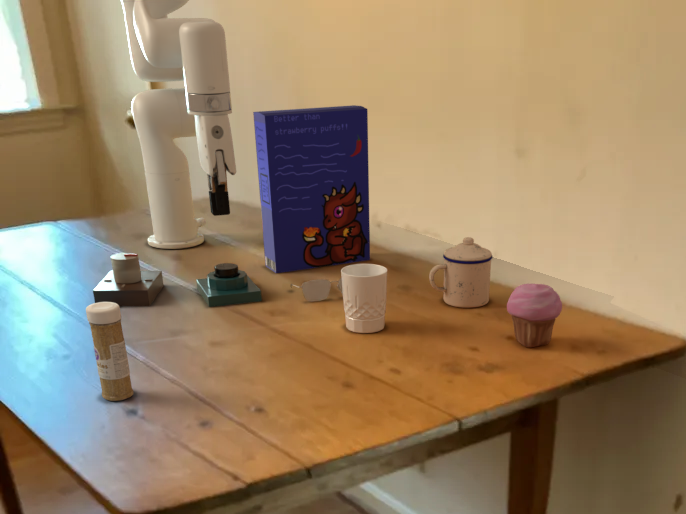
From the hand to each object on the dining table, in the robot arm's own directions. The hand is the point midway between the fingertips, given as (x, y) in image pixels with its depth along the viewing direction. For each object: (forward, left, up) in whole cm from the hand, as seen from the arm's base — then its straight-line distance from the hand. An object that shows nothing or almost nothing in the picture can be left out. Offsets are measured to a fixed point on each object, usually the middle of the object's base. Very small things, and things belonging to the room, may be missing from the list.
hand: (220, 213), depth 165 cm
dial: (+8, -17, -12) cm, 22 cm away
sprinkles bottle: (+48, +12, -15) cm, 52 cm away
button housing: (0, 0, -15) cm, 15 cm away
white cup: (+6, +32, -15) cm, 36 cm away
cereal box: (-27, +5, -15) cm, 31 cm away
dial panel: (+8, -17, -15) cm, 24 cm away
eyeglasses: (-9, +17, -15) cm, 25 cm away
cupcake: (+2, +61, -15) cm, 63 cm away
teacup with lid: (-14, +42, -15) cm, 47 cm away
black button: (0, 0, -11) cm, 11 cm away
